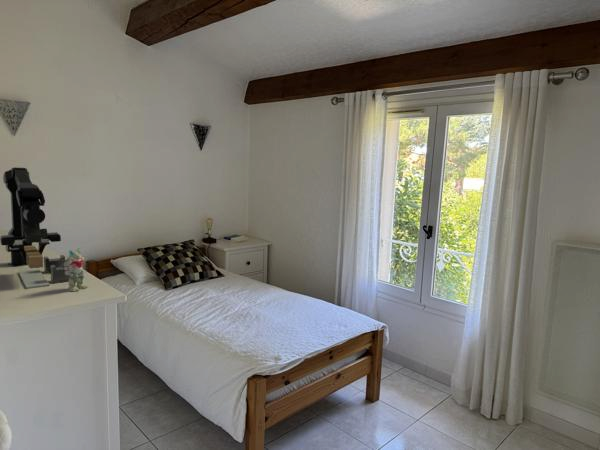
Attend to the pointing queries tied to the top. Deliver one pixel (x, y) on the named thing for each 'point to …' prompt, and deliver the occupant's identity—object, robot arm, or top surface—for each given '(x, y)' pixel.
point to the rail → (33, 257)
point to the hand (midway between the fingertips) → (32, 260)
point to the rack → (56, 269)
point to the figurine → (74, 270)
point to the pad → (33, 279)
